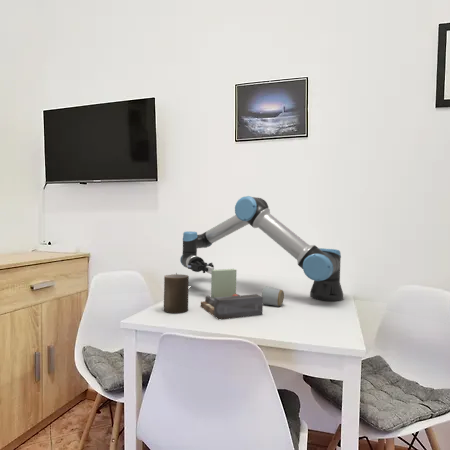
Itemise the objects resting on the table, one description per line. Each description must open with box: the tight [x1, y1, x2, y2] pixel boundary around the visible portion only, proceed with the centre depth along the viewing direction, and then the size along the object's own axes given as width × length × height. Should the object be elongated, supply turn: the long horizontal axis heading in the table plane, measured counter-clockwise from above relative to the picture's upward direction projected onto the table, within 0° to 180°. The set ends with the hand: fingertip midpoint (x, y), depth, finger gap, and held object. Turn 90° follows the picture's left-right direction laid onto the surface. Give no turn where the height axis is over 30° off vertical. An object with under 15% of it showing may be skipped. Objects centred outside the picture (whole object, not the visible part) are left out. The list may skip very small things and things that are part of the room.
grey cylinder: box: [260, 286, 285, 307], centre depth 156 cm, size 11×8×8 cm
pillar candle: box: [163, 272, 190, 314], centre depth 143 cm, size 10×10×15 cm
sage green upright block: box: [210, 268, 238, 299], centre depth 150 cm, size 3×10×13 cm, turn 114°
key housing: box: [200, 293, 264, 320], centre depth 144 cm, size 20×18×8 cm
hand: (212, 270), depth 162 cm, fingers closed
